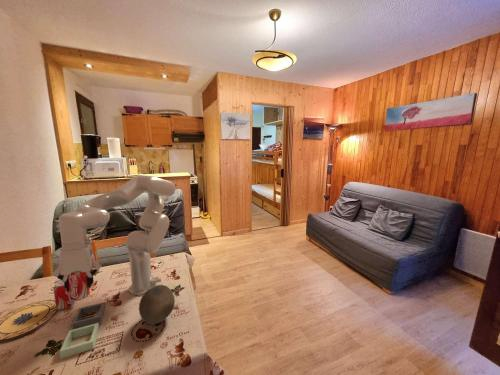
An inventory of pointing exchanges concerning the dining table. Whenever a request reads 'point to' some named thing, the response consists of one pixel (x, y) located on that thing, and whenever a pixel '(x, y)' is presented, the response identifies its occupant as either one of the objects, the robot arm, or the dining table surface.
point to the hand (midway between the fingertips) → (79, 286)
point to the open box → (83, 330)
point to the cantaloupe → (156, 304)
